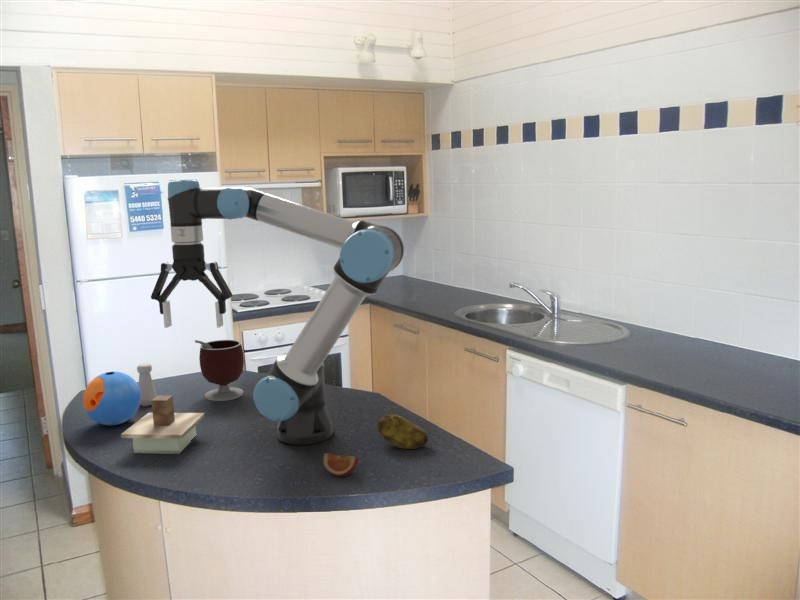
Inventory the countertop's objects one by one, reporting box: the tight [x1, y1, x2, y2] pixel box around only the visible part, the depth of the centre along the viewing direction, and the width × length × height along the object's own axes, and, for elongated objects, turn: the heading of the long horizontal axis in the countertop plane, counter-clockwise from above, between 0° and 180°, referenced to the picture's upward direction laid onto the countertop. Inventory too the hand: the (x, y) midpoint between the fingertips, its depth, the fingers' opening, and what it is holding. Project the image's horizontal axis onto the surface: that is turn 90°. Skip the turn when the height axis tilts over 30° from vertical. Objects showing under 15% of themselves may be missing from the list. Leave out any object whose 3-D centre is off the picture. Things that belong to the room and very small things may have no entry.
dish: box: [132, 425, 197, 455], centre depth 177 cm, size 12×12×5 cm
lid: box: [120, 395, 206, 439], centre depth 176 cm, size 16×16×8 cm
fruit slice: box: [322, 452, 359, 477], centre depth 158 cm, size 8×7×5 cm
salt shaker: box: [136, 363, 158, 407], centre depth 210 cm, size 6×6×13 cm
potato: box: [376, 413, 429, 450], centre depth 173 cm, size 8×13×8 cm, turn 54°
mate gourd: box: [194, 339, 245, 402], centre depth 216 cm, size 16×14×20 cm
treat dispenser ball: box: [82, 371, 141, 426], centre depth 193 cm, size 16×15×15 cm
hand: (194, 326), depth 169 cm, fingers open, 13 cm apart
